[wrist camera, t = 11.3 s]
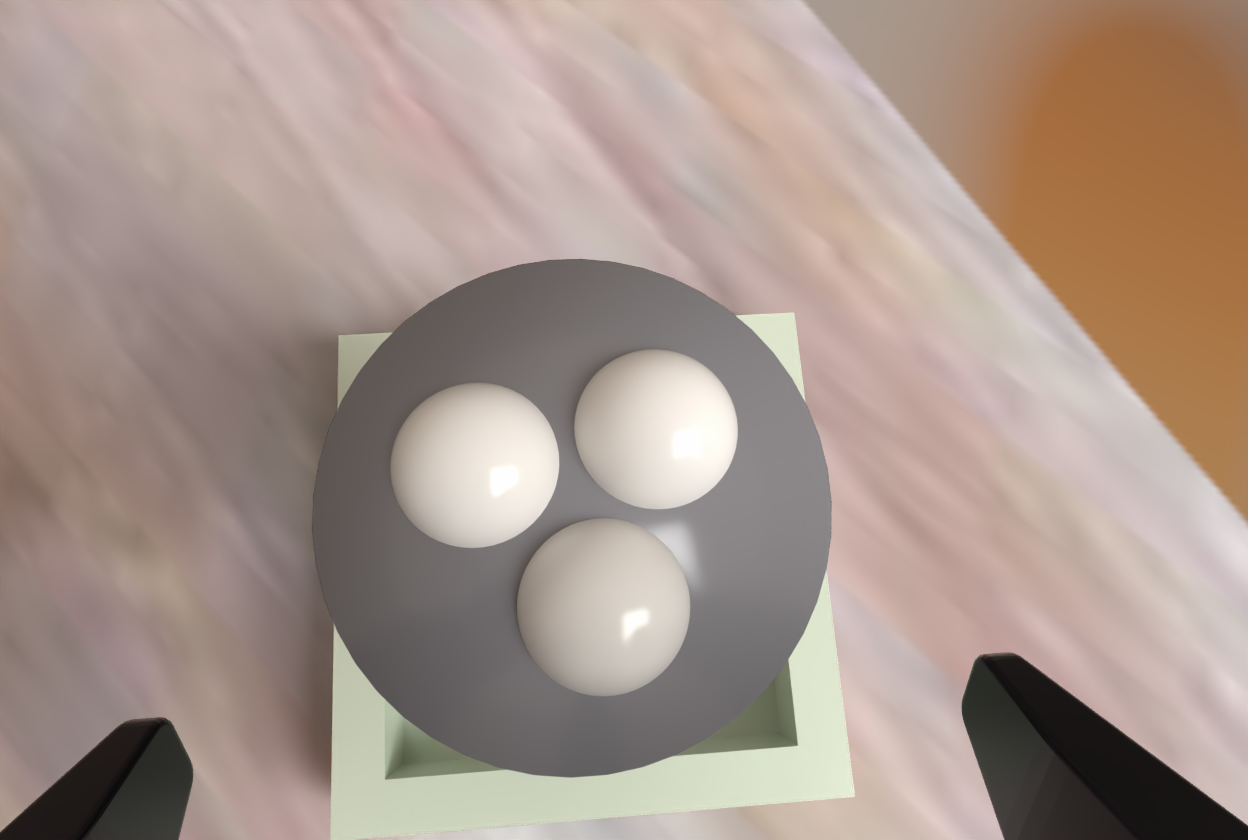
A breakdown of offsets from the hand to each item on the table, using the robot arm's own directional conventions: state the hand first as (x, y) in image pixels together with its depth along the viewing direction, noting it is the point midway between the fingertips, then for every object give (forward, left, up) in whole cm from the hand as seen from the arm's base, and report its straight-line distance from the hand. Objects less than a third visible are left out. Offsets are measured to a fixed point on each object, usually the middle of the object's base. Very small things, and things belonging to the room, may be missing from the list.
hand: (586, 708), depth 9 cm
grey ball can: (+2, -1, -12) cm, 12 cm away
